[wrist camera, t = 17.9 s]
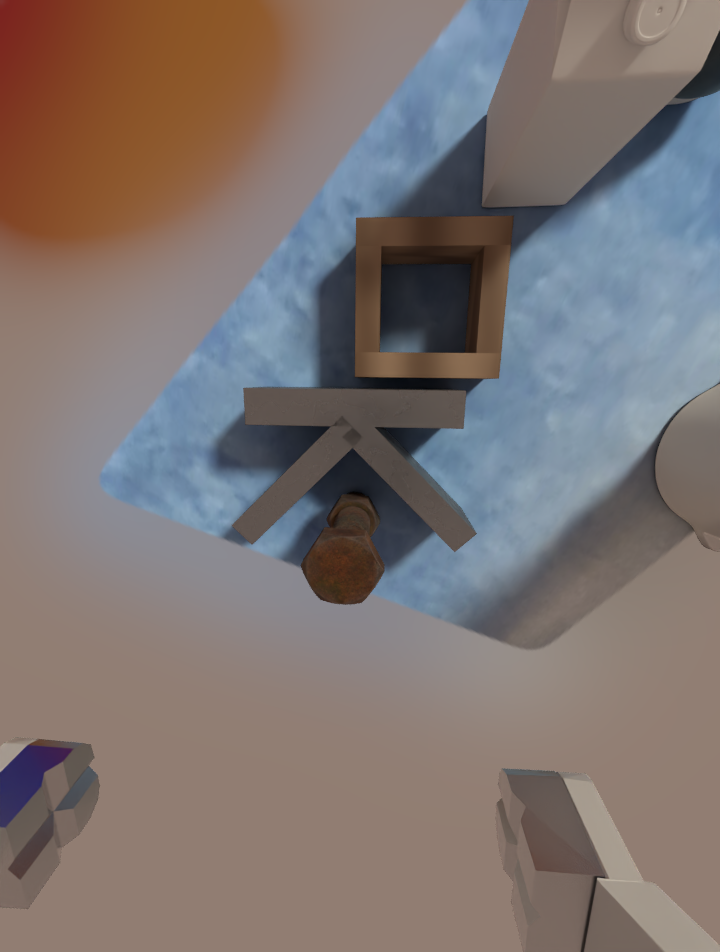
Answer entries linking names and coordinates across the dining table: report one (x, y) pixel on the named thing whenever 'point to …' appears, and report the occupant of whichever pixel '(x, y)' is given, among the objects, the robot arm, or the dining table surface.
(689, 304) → the dining table surface
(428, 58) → the dining table surface
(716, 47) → the black egg shape
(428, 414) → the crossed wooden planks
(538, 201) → the milk carton
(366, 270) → the bore block
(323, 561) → the bolt
